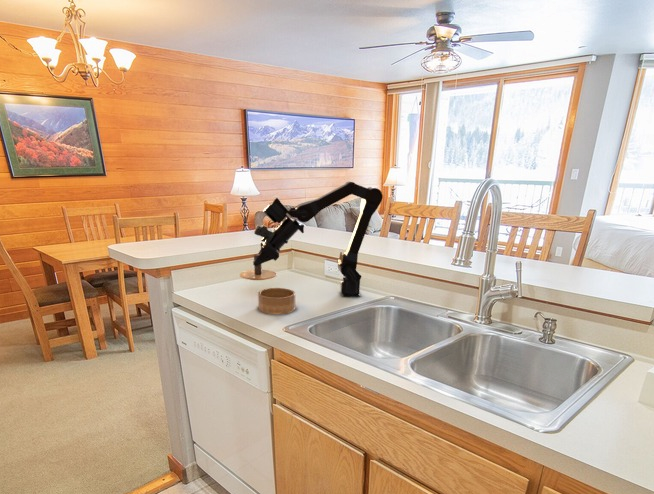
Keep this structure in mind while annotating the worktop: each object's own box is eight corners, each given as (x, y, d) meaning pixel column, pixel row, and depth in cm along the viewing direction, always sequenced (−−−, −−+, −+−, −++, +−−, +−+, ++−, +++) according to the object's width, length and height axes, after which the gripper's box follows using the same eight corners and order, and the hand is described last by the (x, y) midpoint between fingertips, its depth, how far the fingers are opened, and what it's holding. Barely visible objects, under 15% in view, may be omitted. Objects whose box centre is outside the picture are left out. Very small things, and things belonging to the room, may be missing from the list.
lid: (275, 272, 167) (275, 250, 164) (277, 281, 155) (277, 258, 152) (240, 272, 166) (239, 251, 162) (239, 282, 154) (238, 258, 150)
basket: (282, 300, 158) (282, 286, 156) (302, 310, 149) (302, 294, 147) (252, 306, 151) (251, 291, 149) (270, 316, 142) (270, 300, 140)
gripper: (266, 213, 160) (237, 243, 164) (268, 219, 144) (236, 253, 147) (288, 234, 165) (259, 264, 168) (292, 243, 148) (260, 276, 151)
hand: (254, 264), depth 158 cm, fingers closed on lid, 2 cm apart
